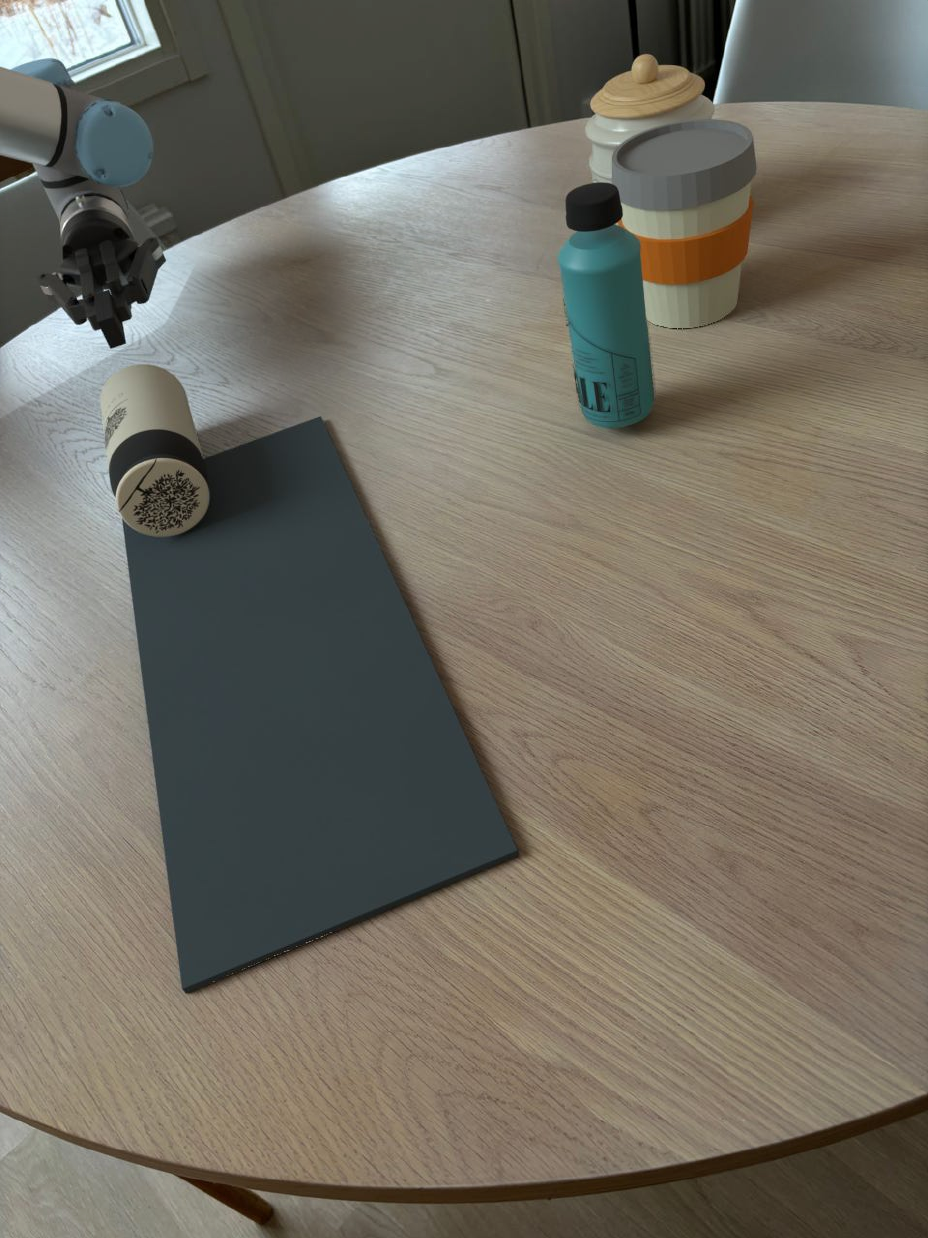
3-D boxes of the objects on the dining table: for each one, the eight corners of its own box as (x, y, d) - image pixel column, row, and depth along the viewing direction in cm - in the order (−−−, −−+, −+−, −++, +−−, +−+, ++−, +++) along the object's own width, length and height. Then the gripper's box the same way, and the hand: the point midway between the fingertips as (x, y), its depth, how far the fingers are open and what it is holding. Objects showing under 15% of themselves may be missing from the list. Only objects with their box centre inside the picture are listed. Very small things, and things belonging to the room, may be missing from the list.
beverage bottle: (667, 403, 87) (649, 168, 73) (644, 449, 83) (620, 209, 69) (595, 398, 90) (565, 171, 76) (569, 442, 86) (533, 210, 72)
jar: (594, 216, 116) (574, 49, 104) (709, 194, 114) (702, 21, 102) (601, 267, 107) (580, 90, 95) (726, 245, 105) (721, 61, 93)
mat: (185, 994, 56) (181, 989, 56) (120, 493, 94) (117, 488, 94) (519, 855, 58) (518, 850, 58) (322, 420, 96) (320, 415, 96)
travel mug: (204, 397, 98) (232, 493, 85) (149, 453, 100) (169, 556, 87) (137, 345, 93) (157, 439, 80) (81, 405, 95) (91, 506, 82)
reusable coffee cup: (728, 345, 91) (723, 179, 81) (602, 331, 98) (583, 175, 87) (776, 278, 98) (777, 117, 88) (655, 269, 104) (644, 117, 94)
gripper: (21, 229, 105) (21, 319, 88) (142, 189, 107) (164, 270, 90) (56, 295, 110) (61, 392, 93) (170, 256, 112) (196, 345, 95)
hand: (111, 332), depth 91 cm, fingers closed
